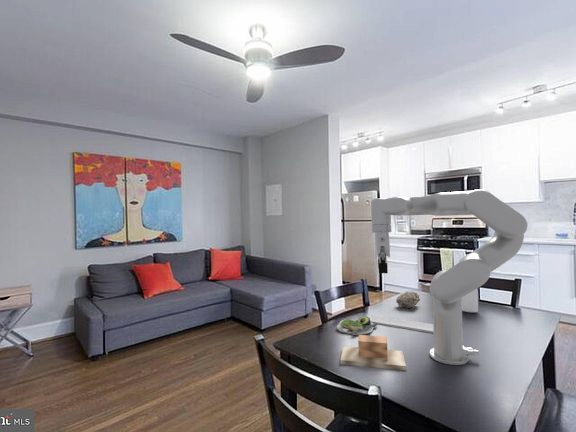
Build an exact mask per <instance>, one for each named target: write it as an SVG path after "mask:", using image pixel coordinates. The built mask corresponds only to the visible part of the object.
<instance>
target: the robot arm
mask: <svg viewBox="0 0 576 432" xmlns="http://www.w3.org/2000/svg"><path fill="white" fill-rule="evenodd" d="M370 202H371V203H370V206H371V207H370V209H371V210H370V212H371V233H374V235H375V236H374V239H375V240H374V241H375V242H374V243H375V251H376V256H377V257H378V259H377V267H378V273H379V274H388V273H389V272H388V271H389V270H388V260H387V258H390V257H391V252H390V249H391V248H390V247H391V246H390V233H392V216H396V217H397V216H398V217H400V216H401V217H402V216H403V217H404V216H438V217H441V216H443V217H444V216H474V217H475V218H477V219H478V220H480V221H481V222H482V223H483V224H484V225H486V226H488V227H489V228H490V229H491V230H492V231H494V233H493V235H492V237H491V238H490V239H489V240H487V241H486V242H485V243H483V244H481V246H479V247H478V248H476V249H475V250H473V251H471V252H470V253H468V254H466V255H463V257H461V258H460V259H459V261H458V263H456V264H454V265H453V266H451V267H450V268H449V269H447V270H440V271H438V272H436V274H434V276H432V279H431V282H430V284H429V292H430V294H431V297H432V321H433V322H432V324H433V332H434V333H433V348H431V349H429V356H430V357H431V358H432V359H433V360H434V361H437V362H439V363H441V364H446V365H451V366H461V365H466V364H467V363H468V362H469V356H475V357H479V355H480V354H479V350H477V349H473V348H472V347H465V346H464V340H463V338H464V337H463V336H464V335H463V311H462V297H464V296H466V295H467V294H469V293H471V292H472V291H474V290H476V289H477V290H478V289H479V288H480V287H482V286H483V285H485V284H486V283H487V282H488V280H489V279H490V277H491V273H492V272H493V271H495V270H496V269H498V268H499V267H501V266H503V265H504V264H506V263H507V262H508V261H510V260H511V259H512V258H513V257H515V256H516V255H517V254H518V253H519V251H520V250H521V249H522V245H523V243H524V239H525V233H527V230H528V225H529V224H528V221H527V219H526V218H525V216H524V215H523V214H521V213H520V212H518V211H517V210H515V209H514V208H513V207H511V206H510V205H508V204H507V203H505V202H504V201H502V200H500V198H498V197H497V196H495V195H494V194H493V193H491V192H490V191H488V190H486V189H482V188H481V189H480V188H479V189H474V190H466V191H465V190H464V191H451V192H450V191H447V192H437V193H434V194H429V195H423V196H421V195H420V196H409V197H408V196H401V195H399V196H393V197H388V198H387V197H379V198H373V199H372V200H371V201H370Z"/></svg>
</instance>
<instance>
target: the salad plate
mask: <svg viewBox="0 0 576 432" xmlns="http://www.w3.org/2000/svg"><path fill="white" fill-rule="evenodd" d="M369 317H370V316H360V317H358V319H351V318H347V319H346V318H345V319H342V320H340V322H338V324H337V325H336V330H337V331H338V332H339V333H343V334H345V335H353V336H359V335H368V334H369V335H370V334H371V333H372V332H373V330H374V328H375V327H378V325H379V324H374V323H372V322H370V319H369ZM343 328H346V329H348V331H345V330H344V329H343Z"/></svg>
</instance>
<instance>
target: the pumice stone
mask: <svg viewBox="0 0 576 432" xmlns="http://www.w3.org/2000/svg"><path fill="white" fill-rule="evenodd" d="M420 301H421V298H420V295H419V294H418V293H416V292H414V291H410V292H409V291H405V292H403V293H401V294H400V295H398V297H397V298H396V299H395V302H396V304H397V305H398V307H402V308H403V307H404V308H406V309H410V308H414V307H415V306H416V305H418V303H419V302H420Z"/></svg>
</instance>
